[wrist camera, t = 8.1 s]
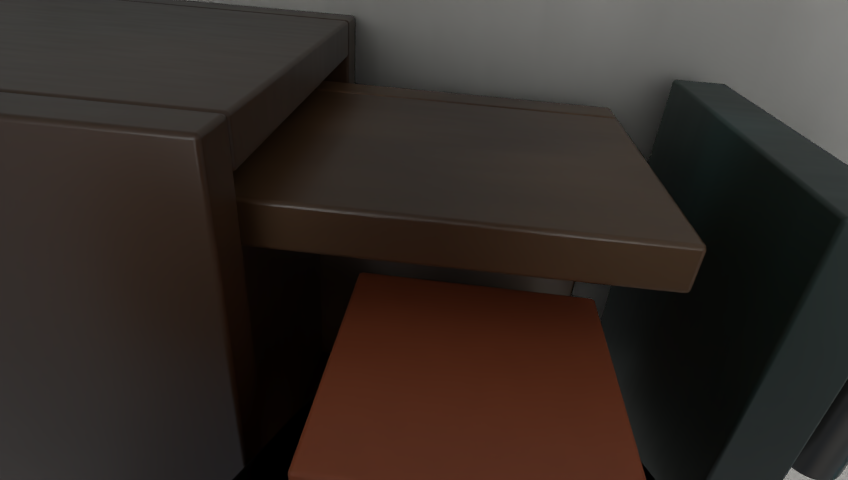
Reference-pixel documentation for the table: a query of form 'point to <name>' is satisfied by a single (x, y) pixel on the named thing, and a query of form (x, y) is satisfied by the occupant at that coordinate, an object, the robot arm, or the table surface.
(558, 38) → the table surface
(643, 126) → the table surface
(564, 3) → the table surface
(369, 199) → the drawer
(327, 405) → the block
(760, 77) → the table surface
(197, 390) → the cabinet
